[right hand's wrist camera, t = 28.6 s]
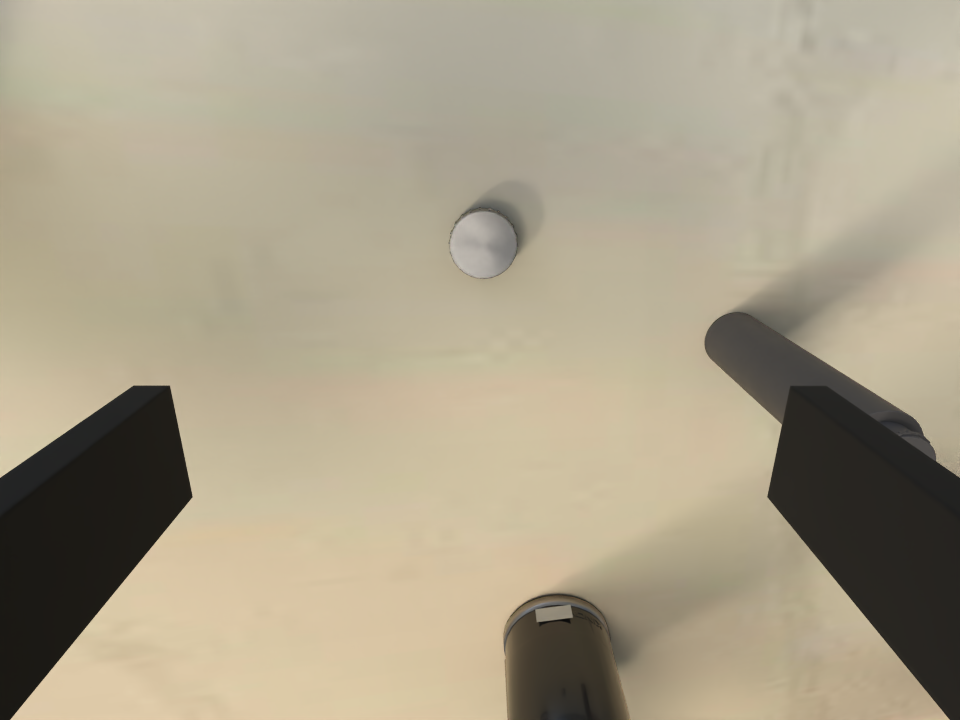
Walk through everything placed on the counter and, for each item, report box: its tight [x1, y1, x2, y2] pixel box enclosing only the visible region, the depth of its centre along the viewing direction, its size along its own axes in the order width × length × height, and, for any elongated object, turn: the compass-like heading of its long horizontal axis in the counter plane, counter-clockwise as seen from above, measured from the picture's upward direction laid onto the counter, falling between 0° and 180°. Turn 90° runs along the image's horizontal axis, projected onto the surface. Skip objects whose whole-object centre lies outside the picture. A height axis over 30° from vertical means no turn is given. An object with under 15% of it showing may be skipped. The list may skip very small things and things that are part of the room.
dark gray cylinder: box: [705, 313, 936, 461], centre depth 34 cm, size 4×4×18 cm
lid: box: [449, 207, 518, 279], centre depth 39 cm, size 5×5×2 cm
